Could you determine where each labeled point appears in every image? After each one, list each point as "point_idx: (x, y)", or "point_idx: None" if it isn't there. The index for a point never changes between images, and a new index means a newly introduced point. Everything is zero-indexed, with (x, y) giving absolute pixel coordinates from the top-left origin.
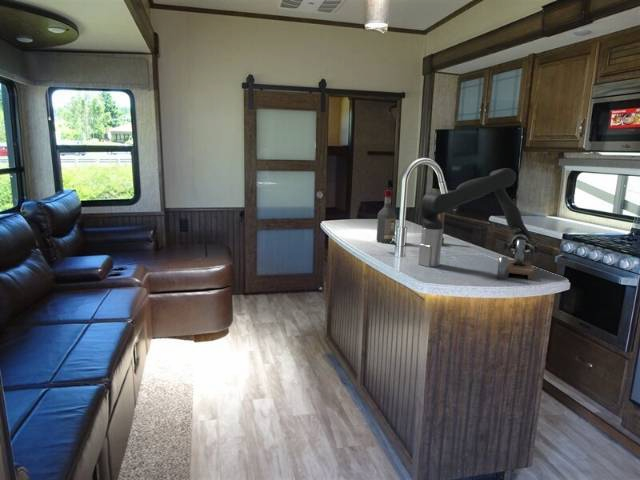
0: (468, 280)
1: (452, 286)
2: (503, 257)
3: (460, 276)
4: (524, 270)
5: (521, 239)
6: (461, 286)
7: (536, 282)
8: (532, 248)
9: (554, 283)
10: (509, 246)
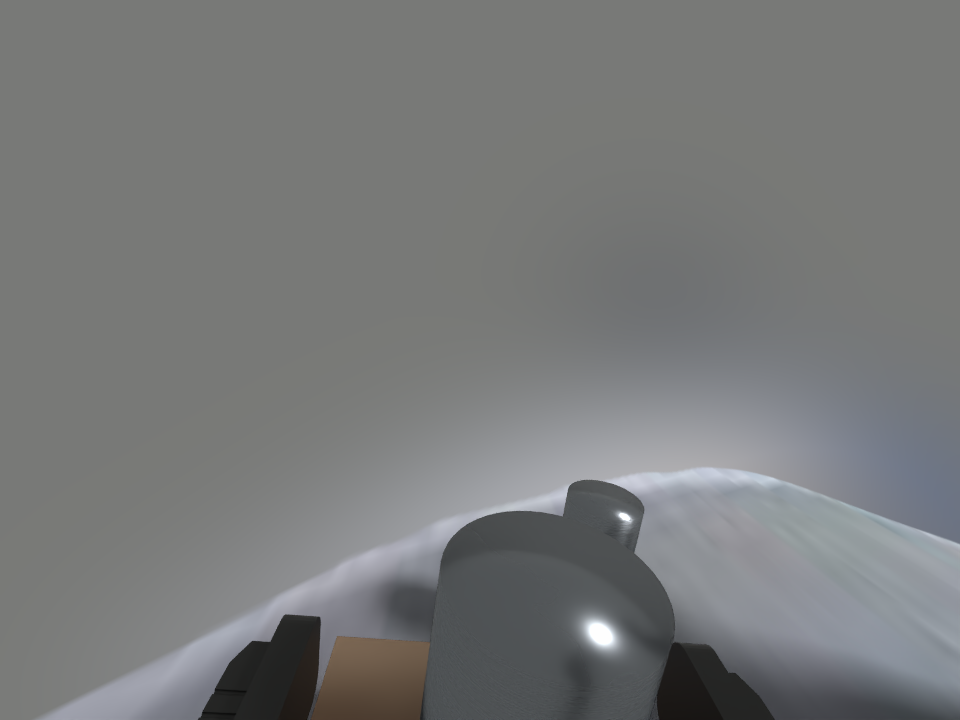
0: (699, 547)
1: (683, 474)
2: (610, 506)
3: (790, 600)
4: (408, 645)
5: (568, 677)
6: (660, 480)
7: None
8: (283, 622)
9: (129, 686)
10: (708, 646)
